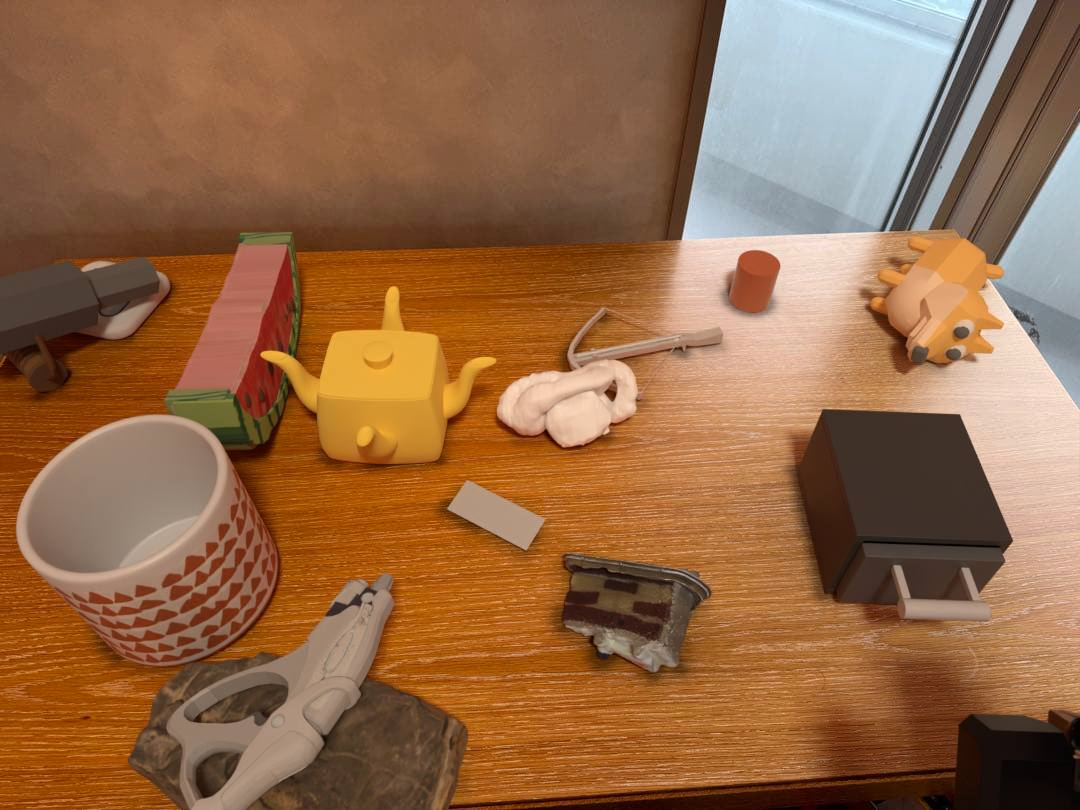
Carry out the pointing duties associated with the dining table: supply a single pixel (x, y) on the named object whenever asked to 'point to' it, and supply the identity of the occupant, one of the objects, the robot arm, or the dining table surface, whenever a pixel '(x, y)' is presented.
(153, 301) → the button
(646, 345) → the crossbow
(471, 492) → the grey rectangular card
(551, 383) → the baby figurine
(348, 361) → the teapot
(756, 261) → the orange cylinder
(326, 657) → the gun
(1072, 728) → the robot arm
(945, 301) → the dog
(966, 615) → the drawer
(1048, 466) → the dining table surface
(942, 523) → the dark brown hollow box
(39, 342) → the mechanical component
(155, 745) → the stone
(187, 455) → the vase
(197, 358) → the fruit slice
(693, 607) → the chocolate cake
